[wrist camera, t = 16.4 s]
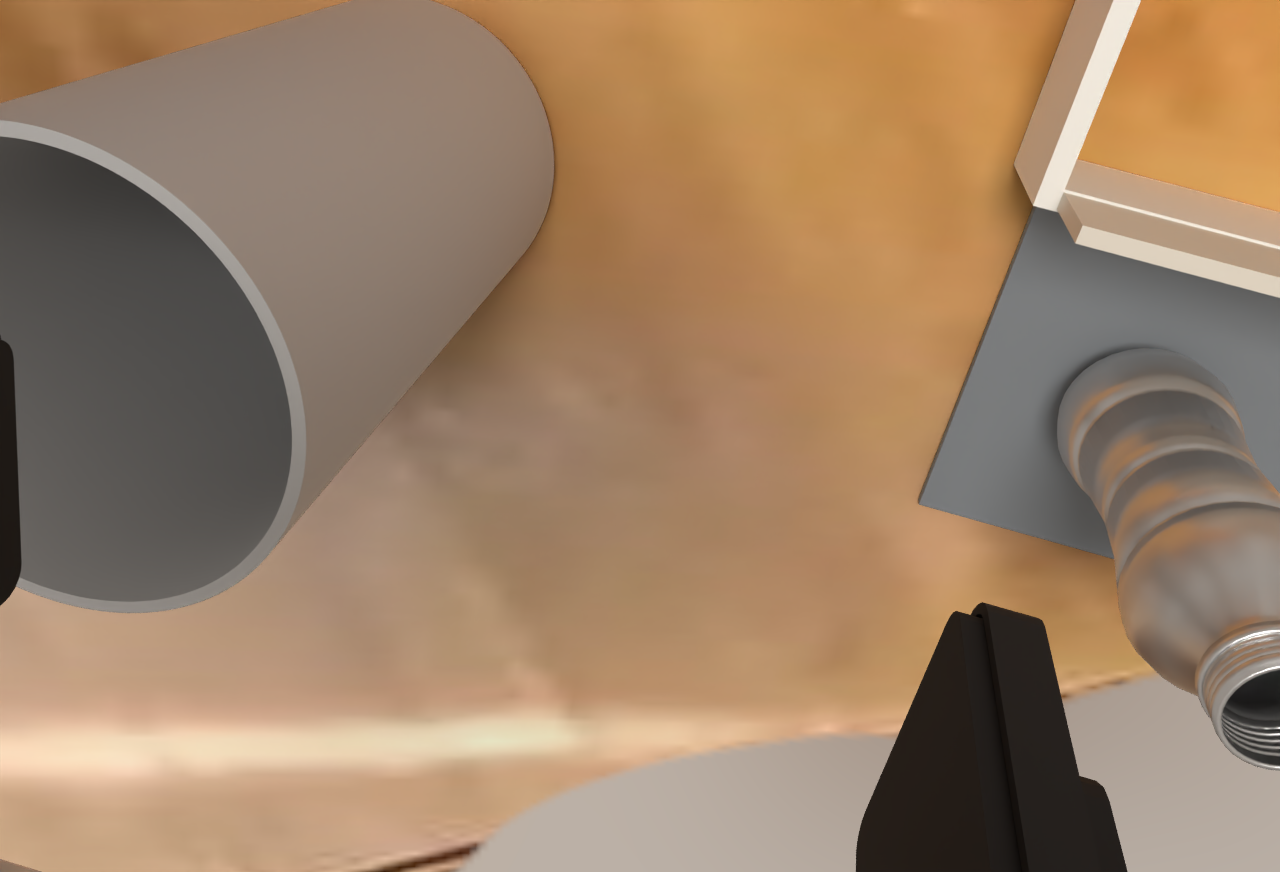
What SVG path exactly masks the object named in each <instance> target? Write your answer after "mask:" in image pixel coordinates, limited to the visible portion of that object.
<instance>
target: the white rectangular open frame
mask: <svg viewBox="0 0 1280 872" xmlns="http://www.w3.org/2000/svg"><path fill="white" fill-rule="evenodd" d="M1140 1H1141V0H1075V3H1074V6H1073V8H1072V11H1071V14H1070V16H1069V19H1068V22H1067V24H1066V27H1065V30H1064V32H1063V35H1062V38H1061V40H1060V43H1059V45H1058V48H1057V51H1056V53H1055V56H1054V59H1053V61H1052V64H1051V67H1050V69H1049V72H1048V75H1047V77H1046V80H1045V83H1044V85H1043V88H1042V91H1041V93H1040V96H1039V98H1038V101H1037V104H1036V106H1035V109H1034V112H1033V114H1032V117H1031V120H1030V122H1029V125H1028V128H1027V130H1026V133H1025V136H1024V138H1023V141H1022V143H1021V146H1020V149H1019V151H1018V154H1017V157H1016V159H1015V162H1014V166H1015V168H1016V171H1017V173H1018V175H1019V177H1020V179H1021V181H1022V183H1023V186H1024V188H1025V190H1026V192H1027V194H1028V196H1029V198H1030V200H1031V203H1032V205H1033V206H1036V207H1040V208H1044V209H1048V210H1051V211H1055V212H1059V214H1060V216H1061V218H1062V220H1063V221H1064V223H1065V225H1066V227H1067V229H1068V231H1069V233H1070V235H1071V237H1072V238H1073V240H1074V242H1075V243H1076V244H1079V245H1083V246H1087V247H1091V248H1094V249H1098V250H1102V251H1106V252H1109V253H1113V254H1117V255H1121V256H1124V257H1128V258H1132V259H1136V260H1139V261H1143V262H1147V263H1151V264H1154V265H1158V266H1162V267H1166V268H1169V269H1173V270H1177V271H1181V272H1184V273H1188V274H1192V275H1196V276H1199V277H1203V278H1207V279H1211V280H1214V281H1218V282H1222V283H1226V284H1229V285H1233V286H1237V287H1241V288H1244V289H1248V290H1252V291H1256V292H1259V293H1263V294H1267V295H1271V296H1275V297H1278V298H1280V212H1277V211H1273V210H1269V209H1265V208H1262V207H1258V206H1254V205H1250V204H1246V203H1243V202H1239V201H1235V200H1231V199H1227V198H1224V197H1220V196H1216V195H1212V194H1208V193H1205V192H1201V191H1197V190H1193V189H1189V188H1185V187H1182V186H1178V185H1174V184H1170V183H1166V182H1163V181H1159V180H1155V179H1151V178H1147V177H1144V176H1140V175H1136V174H1132V173H1128V172H1125V171H1121V170H1117V169H1113V168H1109V167H1106V166H1102V165H1098V164H1094V163H1090V162H1086V161H1083V160H1079V159H1077V158H1078V155H1079V153H1080V150H1081V148H1082V145H1083V143H1084V140H1085V138H1086V135H1087V133H1088V130H1089V128H1090V125H1091V123H1092V120H1093V118H1094V115H1095V113H1096V111H1097V108H1098V106H1099V103H1100V101H1101V98H1102V96H1103V93H1104V91H1105V88H1106V86H1107V83H1108V81H1109V78H1110V76H1111V73H1112V71H1113V68H1114V66H1115V63H1116V61H1117V58H1118V56H1119V53H1120V51H1121V48H1122V46H1123V43H1124V41H1125V39H1126V36H1127V34H1128V31H1129V29H1130V26H1131V24H1132V21H1133V19H1134V16H1135V14H1136V11H1137V9H1138V6H1139V4H1140Z"/></svg>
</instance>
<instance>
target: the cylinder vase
mask: <svg viewBox="0 0 1280 872" xmlns="http://www.w3.org/2000/svg"><path fill="white" fill-rule="evenodd" d="M553 180H554V150H553V142H552V136H551V131H550V126H549V123H548V119H547V116H546V112H545V110H544V107H543V104H542V102H541V99H540V97H539V95H538V93H537V91H536V89H535V87H534V85H533V83H532V81H531V80H530V78H529V76H528V75H527V73H526V72H525V70H524V68H523V67H522V66H521V64H520V63H519V62H518V60H517V59H516V58H515V57H514V55H513V54H512V53H511V52H510V51H509V50H508V49H507V47H506V46H505V45H504V44H503V43H502V42H501V41H500V40H499V39H497V38H496V37H495V36H494V35H493V34H492V33H491V32H489V31H488V30H487V29H486V28H484V27H483V26H482V25H480V24H479V23H477V22H476V21H474V20H473V19H471V18H470V17H468V16H466V15H464V14H463V13H461V12H459V11H457V10H455V9H453V8H450V7H448V6H446V5H443V4H440V3H437V2H434V1H431V0H351V1H348V2H345V3H341V4H338V5H334V6H331V7H328V8H324V9H321V10H317V11H314V12H310V13H307V14H304V15H300V16H297V17H293V18H290V19H287V20H283V21H280V22H276V23H273V24H269V25H266V26H263V27H259V28H256V29H252V30H249V31H246V32H242V33H239V34H235V35H232V36H228V37H225V38H222V39H218V40H215V41H211V42H208V43H205V44H201V45H198V46H194V47H191V48H187V49H184V50H181V51H177V52H174V53H170V54H167V55H164V56H160V57H157V58H153V59H150V60H146V61H143V62H140V63H136V64H133V65H129V66H126V67H123V68H119V69H116V70H112V71H109V72H106V73H102V74H99V75H95V76H92V77H88V78H85V79H82V80H78V81H75V82H71V83H68V84H65V85H61V86H58V87H54V88H51V89H47V90H44V91H41V92H37V93H34V94H30V95H27V96H24V97H20V98H17V99H13V100H10V101H6V102H3V103H0V335H1V340H4V341H5V342H7V343H8V344H9V345H10V347H11V349H12V351H13V357H14V377H15V403H16V429H17V455H18V481H19V507H20V533H21V559H22V565H21V573H20V577H19V580H18V582H17V584H16V587H19V588H21V589H23V590H26V591H28V592H31V593H33V594H36V595H39V596H41V597H44V598H47V599H50V600H54V601H57V602H60V603H64V604H68V605H72V606H76V607H81V608H86V609H91V610H98V611H106V612H118V613H147V612H158V611H165V610H171V609H177V608H181V607H185V606H188V605H192V604H195V603H198V602H201V601H204V600H206V599H209V598H211V597H213V596H215V595H217V594H220V593H221V592H223V591H225V590H227V589H229V588H230V587H232V586H234V585H235V584H237V583H238V582H239V581H241V580H242V579H244V578H245V577H246V576H247V575H249V574H250V573H251V572H252V571H253V570H254V569H255V568H256V567H258V566H259V565H260V564H261V563H262V561H263V560H264V559H265V558H266V557H267V556H268V555H269V554H270V552H271V551H272V550H273V549H274V548H275V546H276V545H277V544H278V543H279V542H280V541H281V539H282V538H283V537H284V536H285V535H286V534H287V532H288V531H289V530H290V529H291V528H292V526H293V525H294V524H295V523H296V522H297V521H298V519H299V518H300V517H301V516H302V515H303V513H304V512H305V511H306V510H307V509H308V508H309V506H310V505H311V504H312V503H313V502H314V501H315V499H316V498H317V497H318V496H319V495H320V493H321V492H322V491H323V490H324V489H325V488H326V486H327V485H328V484H329V483H330V482H331V480H332V479H333V478H334V477H335V476H336V475H337V473H338V472H339V471H340V470H341V469H342V467H343V466H344V465H345V464H346V463H347V462H348V460H349V459H350V458H351V457H352V456H353V455H354V453H355V452H356V451H357V450H358V449H359V447H360V446H361V445H362V444H363V443H364V442H365V440H366V439H367V438H368V437H369V436H370V434H371V433H372V432H373V431H374V430H375V429H376V427H377V426H378V425H379V424H380V423H381V422H382V420H383V419H384V418H385V417H386V416H387V414H388V413H389V412H390V411H391V410H392V409H393V407H394V406H395V405H396V404H397V403H398V401H399V400H400V399H401V398H402V397H403V396H404V394H405V393H406V392H407V391H408V390H409V389H410V387H411V386H412V385H413V384H414V383H415V381H416V380H417V379H418V378H419V377H420V376H421V374H422V373H423V372H424V371H425V370H426V368H427V367H428V366H429V365H430V364H431V363H432V361H433V360H434V359H435V358H436V357H437V355H438V354H439V353H440V352H441V351H442V350H443V348H444V347H445V346H446V345H447V344H448V343H449V341H450V340H451V339H452V338H453V337H454V335H455V334H456V333H457V332H458V331H459V330H460V328H461V327H462V326H463V325H464V324H465V322H466V321H467V320H468V319H469V318H470V317H471V315H472V314H473V313H474V312H475V311H476V310H477V308H478V307H479V306H480V305H481V304H482V302H483V301H484V300H485V299H486V298H487V297H488V295H489V294H490V293H491V292H492V291H493V289H494V288H495V287H496V286H497V285H498V284H499V282H500V281H501V280H502V279H503V278H504V277H505V275H506V274H507V273H508V272H509V271H510V269H511V268H512V267H513V266H514V265H515V264H516V262H517V261H518V260H519V259H520V258H521V256H522V255H523V254H524V253H525V252H526V250H527V249H528V248H529V246H530V245H531V243H532V242H533V240H534V238H535V237H536V235H537V233H538V231H539V229H540V227H541V225H542V223H543V221H544V218H545V215H546V213H547V209H548V206H549V202H550V198H551V194H552V188H553Z"/></svg>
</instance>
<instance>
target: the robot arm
mask: <svg viewBox="0 0 1280 872" xmlns="http://www.w3.org/2000/svg"><path fill="white" fill-rule="evenodd" d="M21 565H22V559H21V533H20V507H19V481H18V455H17V429H16V403H15V377H14V357H13V351H12V349H11V347H10V345H9V344H8V343H7V342H5V341H4V340H1V335H0V605H2V604H3V603H4V602H5V601H6V600H7V599H8V597H9V596H10V595H11V593H12V592H13V590H14V589H15V587H16V584H17V582H18V580H19V577H20V573H21ZM0 872H40V871H37V870H34V869H31V868H27V867H24V866H21V865H18V864H14V863H11V862H8V861H5V860H1V859H0ZM856 872H1127V868H1126V864H1125V860H1124V856H1123V853H1122V849H1121V845H1120V841H1119V837H1118V833H1117V829H1116V825H1115V821H1114V817H1113V813H1112V809H1111V806H1110V802H1109V799H1108V797H1107V794H1106V792H1105V789H1104V787H1103V786H1101V785H1100V784H1099V783H1098V782H1097V781H1095V780H1091V779H1088V778H1084V777H1081V776H1079V772H1078V768H1077V764H1076V760H1075V755H1074V751H1073V747H1072V742H1071V738H1070V734H1069V729H1068V725H1067V720H1066V716H1065V712H1064V707H1063V703H1062V699H1061V694H1060V690H1059V686H1058V681H1057V677H1056V672H1055V668H1054V664H1053V659H1052V655H1051V651H1050V646H1049V642H1048V638H1047V633H1046V629H1045V626H1044V623H1043V621H1042V620H1040V619H1039V618H1036V617H1032V616H1029V615H1025V614H1022V613H1018V612H1014V611H1011V610H1007V609H1004V608H1000V607H997V606H993V605H990V604H986V603H983V602H982V603H980V604H978V605H977V606H976V607H975V609H974V610H973V611H972V613H971V615H969V614H965V613H962V612H958V611H955V612H953V614H952V615H951V616H950V618H949V620H948V622H947V624H946V626H945V628H944V630H943V633H942V635H941V637H940V640H939V642H938V644H937V647H936V649H935V651H934V654H933V656H932V658H931V661H930V663H929V665H928V668H927V670H926V672H925V674H924V677H923V679H922V681H921V684H920V686H919V688H918V691H917V693H916V695H915V698H914V700H913V702H912V705H911V707H910V709H909V712H908V714H907V716H906V719H905V721H904V723H903V725H902V728H901V730H900V732H899V735H898V737H897V739H896V742H895V744H894V747H893V749H892V751H891V753H890V756H889V758H888V760H887V763H886V765H885V767H884V769H883V772H882V774H881V776H880V779H879V781H878V783H877V786H876V788H875V790H874V793H873V795H872V797H871V800H870V802H869V804H868V807H867V809H866V811H865V814H864V817H863V820H862V823H861V827H860V831H859V836H858V841H857V850H856Z"/></svg>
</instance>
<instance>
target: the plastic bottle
mask: <svg viewBox="0 0 1280 872" xmlns="http://www.w3.org/2000/svg"><path fill="white" fill-rule="evenodd" d="M1057 440H1058V449H1059V452H1060V455H1061V458H1062V461H1063V463H1064V464H1065V466H1066V467H1067V469H1068V471H1069V472H1070V474H1071V475H1072V477H1073V478H1074V480H1075V481H1076V482H1077V484H1078V485H1079V487H1080V488H1081V489H1082V490H1083V491H1084V492H1085V493H1086V494H1087V495H1088V496H1089V497H1090V498H1091V500H1092V501H1093V503H1094V505H1095V507H1096V508H1097V510H1098V512H1099V513H1100V515H1101V517H1102V519H1103V520H1104V522H1105V526H1106V529H1107V532H1108V537H1109V540H1110V544H1111V547H1112V551H1113V554H1114V561H1115V572H1116V582H1117V593H1118V605H1119V610H1120V613H1121V618H1122V622H1123V625H1124V628H1125V631H1126V634H1127V637H1128V639H1129V641H1130V642H1131V644H1132V645H1133V647H1134V648H1135V650H1136V652H1137V653H1138V654H1139V655H1140V656H1141V657H1142V658H1143V659H1144V660H1145V661H1146V662H1147V663H1148V664H1149V665H1150V666H1151V667H1152V668H1153V669H1154V670H1155V671H1156V672H1157V673H1158V674H1159V675H1160V676H1161V677H1162V678H1164V679H1165V680H1167V681H1168V682H1170V683H1171V684H1173V685H1174V686H1176V687H1177V688H1179V689H1182V690H1184V691H1187V692H1189V693H1191V694H1194V695H1196V696H1198V697H1199V700H1200V702H1201V705H1202V707H1203V709H1204V711H1205V712H1206V714H1207V715H1208V717H1210V718H1211V721H1212V723H1213V726H1214V729H1215V731H1216V734H1217V735H1218V737H1219V738H1220V740H1221V742H1222V743H1223V744H1224V746H1225V747H1226V748H1227V749H1228V750H1229V751H1230V752H1231V753H1232V754H1233V755H1235V756H1236V757H1238V758H1240V759H1241V760H1243V761H1245V762H1247V763H1249V764H1252V765H1254V766H1257V767H1261V768H1266V769H1270V770H1279V771H1280V494H1279V492H1278V491H1277V490H1276V489H1275V488H1274V486H1273V485H1272V484H1271V483H1270V481H1269V480H1268V479H1267V478H1266V477H1265V475H1264V474H1263V473H1262V472H1261V470H1260V469H1259V468H1258V467H1257V465H1256V463H1255V461H1254V459H1253V456H1252V454H1251V452H1250V450H1249V448H1248V445H1247V443H1246V441H1245V436H1244V430H1243V426H1242V423H1241V419H1240V416H1239V413H1238V410H1237V407H1236V404H1235V401H1234V400H1233V398H1232V396H1231V394H1230V392H1229V391H1228V389H1227V388H1226V387H1225V385H1224V384H1223V383H1222V382H1221V381H1220V380H1219V379H1218V378H1217V377H1216V376H1215V375H1213V374H1212V373H1210V372H1209V371H1207V370H1206V369H1205V368H1203V367H1202V366H1200V365H1199V364H1197V363H1196V362H1194V361H1193V360H1191V359H1190V358H1187V357H1185V356H1183V355H1181V354H1178V353H1176V352H1171V351H1167V350H1162V349H1150V348H1141V349H1132V350H1126V351H1122V352H1119V353H1115V354H1112V355H1109V356H1107V357H1105V358H1103V359H1101V360H1099V361H1097V362H1095V363H1094V364H1092V365H1091V366H1089V367H1088V368H1087V369H1085V370H1084V371H1083V372H1082V373H1081V374H1080V375H1079V376H1078V377H1077V378H1076V379H1075V380H1074V381H1073V382H1072V383H1071V385H1070V386H1069V388H1068V389H1067V391H1066V392H1065V394H1064V396H1063V399H1062V402H1061V404H1060V407H1059V413H1058V420H1057Z"/></svg>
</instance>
